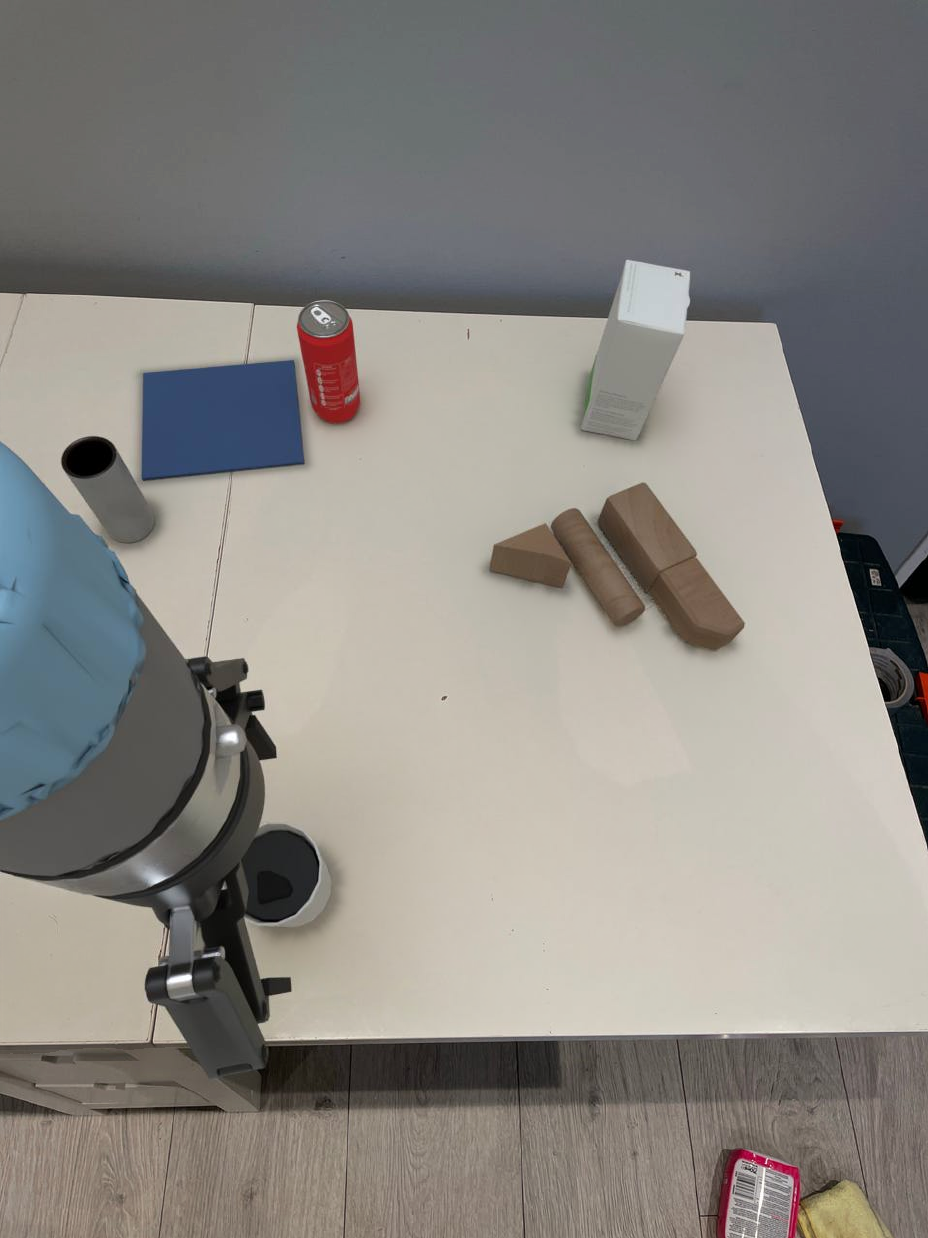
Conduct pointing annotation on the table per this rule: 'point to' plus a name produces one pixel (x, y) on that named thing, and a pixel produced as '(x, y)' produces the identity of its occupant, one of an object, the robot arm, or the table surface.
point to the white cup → (284, 877)
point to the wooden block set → (647, 552)
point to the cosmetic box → (636, 348)
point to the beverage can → (329, 360)
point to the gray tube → (108, 488)
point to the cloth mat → (220, 420)
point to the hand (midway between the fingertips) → (260, 864)
